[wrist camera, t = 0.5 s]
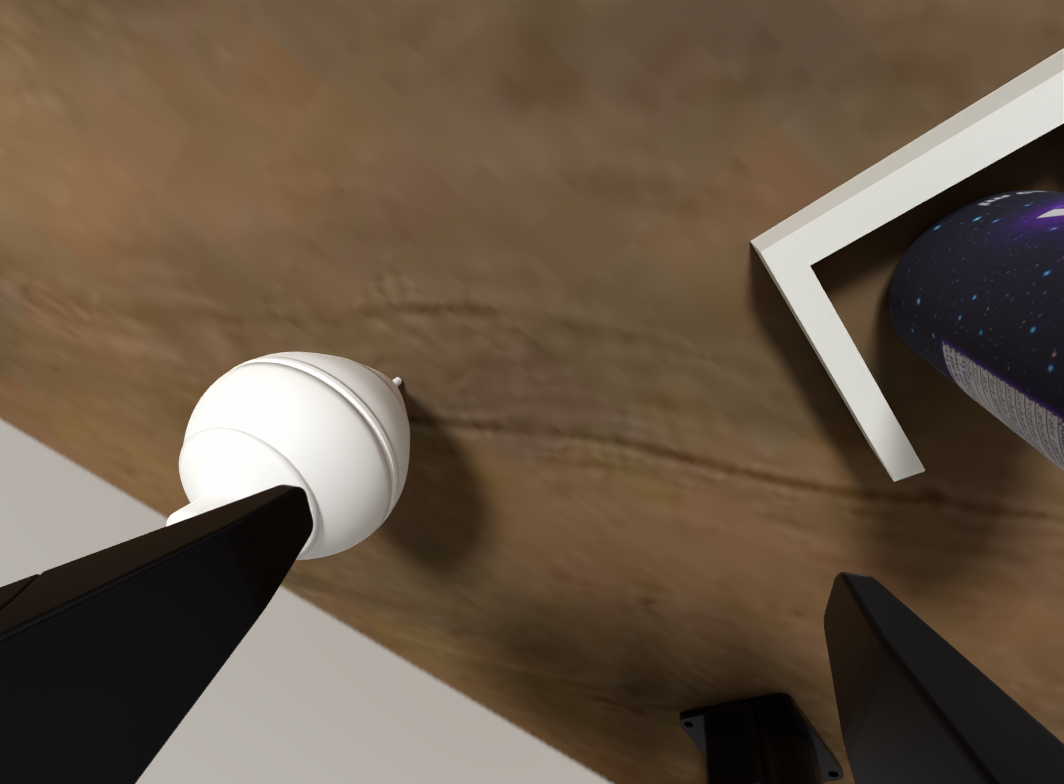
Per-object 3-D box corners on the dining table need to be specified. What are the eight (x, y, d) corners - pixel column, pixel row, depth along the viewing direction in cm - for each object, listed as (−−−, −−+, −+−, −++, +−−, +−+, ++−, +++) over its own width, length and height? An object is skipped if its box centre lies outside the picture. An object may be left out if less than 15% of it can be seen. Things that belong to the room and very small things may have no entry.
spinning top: (423, 473, 27) (256, 676, 16) (308, 382, 26) (58, 531, 15) (502, 377, 23) (354, 559, 12) (371, 269, 22) (100, 363, 12)
